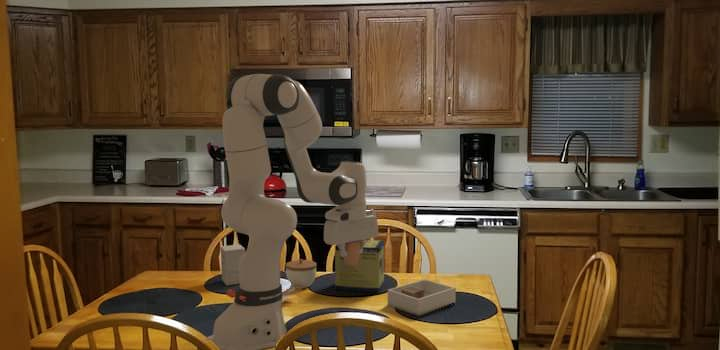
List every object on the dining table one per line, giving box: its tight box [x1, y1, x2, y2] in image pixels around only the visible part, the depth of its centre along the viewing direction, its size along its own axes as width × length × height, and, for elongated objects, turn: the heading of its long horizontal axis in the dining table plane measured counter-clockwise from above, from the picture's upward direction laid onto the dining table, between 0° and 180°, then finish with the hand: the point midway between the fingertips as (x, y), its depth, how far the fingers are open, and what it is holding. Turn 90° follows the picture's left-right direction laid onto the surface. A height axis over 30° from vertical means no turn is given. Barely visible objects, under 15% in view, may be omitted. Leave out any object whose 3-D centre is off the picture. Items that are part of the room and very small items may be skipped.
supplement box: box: [220, 243, 246, 286], centre depth 228 cm, size 7×7×13 cm
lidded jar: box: [285, 258, 317, 289], centre depth 223 cm, size 11×11×9 cm
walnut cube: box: [402, 286, 424, 299], centre depth 200 cm, size 5×5×5 cm
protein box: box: [334, 239, 385, 293], centre depth 221 cm, size 10×16×16 cm
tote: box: [387, 278, 457, 317], centre depth 203 cm, size 13×17×5 cm
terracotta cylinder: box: [344, 241, 360, 265], centre depth 204 cm, size 5×5×7 cm
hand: (351, 254), depth 204 cm, fingers closed on terracotta cylinder, 5 cm apart
